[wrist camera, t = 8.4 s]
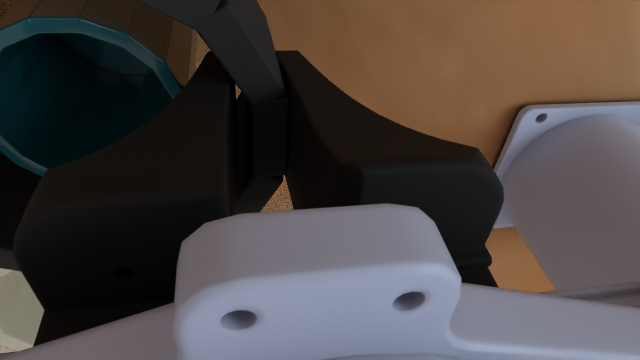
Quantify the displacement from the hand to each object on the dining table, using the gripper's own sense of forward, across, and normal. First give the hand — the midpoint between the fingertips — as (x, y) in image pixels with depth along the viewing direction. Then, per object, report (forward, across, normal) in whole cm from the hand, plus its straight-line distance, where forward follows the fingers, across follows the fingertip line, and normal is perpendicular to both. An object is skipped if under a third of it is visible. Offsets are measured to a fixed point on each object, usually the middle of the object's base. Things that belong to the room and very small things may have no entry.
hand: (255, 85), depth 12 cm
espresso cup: (+5, +4, 0) cm, 6 cm away
